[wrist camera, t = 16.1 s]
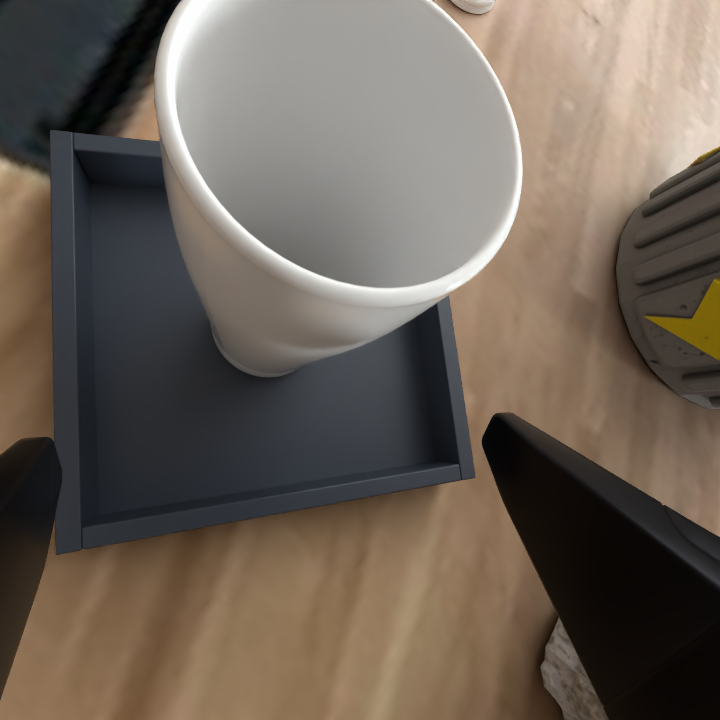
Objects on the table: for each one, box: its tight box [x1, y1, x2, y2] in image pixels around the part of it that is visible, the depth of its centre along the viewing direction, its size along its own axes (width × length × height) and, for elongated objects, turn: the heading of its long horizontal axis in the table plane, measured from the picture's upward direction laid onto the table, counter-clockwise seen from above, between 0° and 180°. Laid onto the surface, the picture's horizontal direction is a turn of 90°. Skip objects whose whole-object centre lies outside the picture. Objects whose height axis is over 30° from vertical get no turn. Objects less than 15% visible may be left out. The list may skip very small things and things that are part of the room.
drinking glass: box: [154, 0, 523, 378], centre depth 14 cm, size 7×7×15 cm
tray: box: [50, 130, 475, 555], centre depth 20 cm, size 18×17×3 cm
